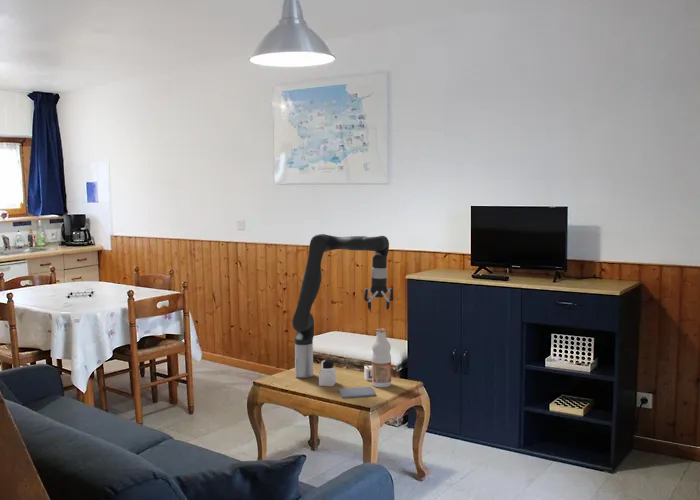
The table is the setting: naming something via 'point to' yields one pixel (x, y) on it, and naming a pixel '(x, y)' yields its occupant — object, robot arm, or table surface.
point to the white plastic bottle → (381, 360)
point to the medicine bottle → (327, 373)
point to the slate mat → (357, 392)
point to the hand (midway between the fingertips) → (378, 309)
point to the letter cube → (368, 372)
